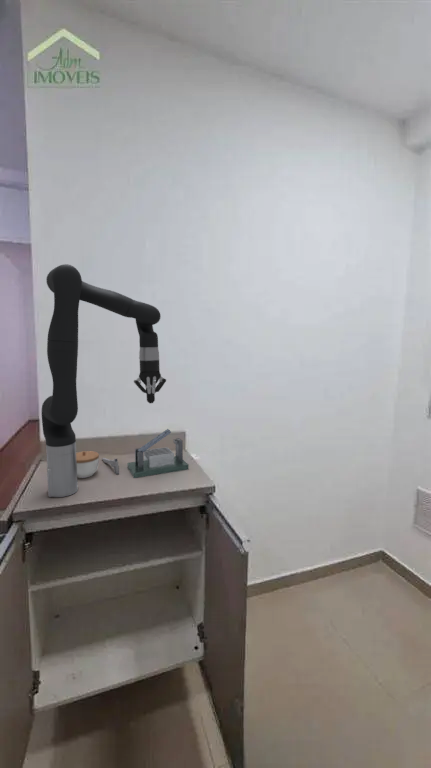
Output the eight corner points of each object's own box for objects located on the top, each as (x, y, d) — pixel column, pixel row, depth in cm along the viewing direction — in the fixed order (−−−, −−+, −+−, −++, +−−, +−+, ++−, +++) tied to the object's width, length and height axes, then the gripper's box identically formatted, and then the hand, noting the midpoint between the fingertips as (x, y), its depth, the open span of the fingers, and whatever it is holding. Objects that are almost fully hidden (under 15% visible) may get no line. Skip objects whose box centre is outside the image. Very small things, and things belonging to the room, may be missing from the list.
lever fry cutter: (133, 478, 132) (133, 449, 131) (127, 467, 143) (126, 441, 141) (188, 469, 141) (188, 442, 140) (178, 460, 152) (178, 435, 151)
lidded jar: (69, 482, 128) (68, 457, 127) (70, 471, 138) (68, 448, 137) (100, 478, 132) (99, 454, 131) (98, 468, 142) (97, 445, 141)
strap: (140, 453, 137) (139, 451, 136) (138, 451, 139) (137, 449, 139) (171, 432, 141) (170, 430, 141) (168, 430, 144) (167, 428, 143)
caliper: (119, 475, 136) (118, 459, 135) (116, 475, 135) (116, 460, 134) (103, 460, 152) (103, 446, 152) (101, 460, 152) (100, 446, 151)
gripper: (134, 360, 129) (136, 406, 132) (168, 358, 135) (169, 403, 137) (130, 359, 136) (132, 402, 138) (163, 357, 141) (164, 399, 144)
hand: (150, 402), depth 138 cm, fingers closed
